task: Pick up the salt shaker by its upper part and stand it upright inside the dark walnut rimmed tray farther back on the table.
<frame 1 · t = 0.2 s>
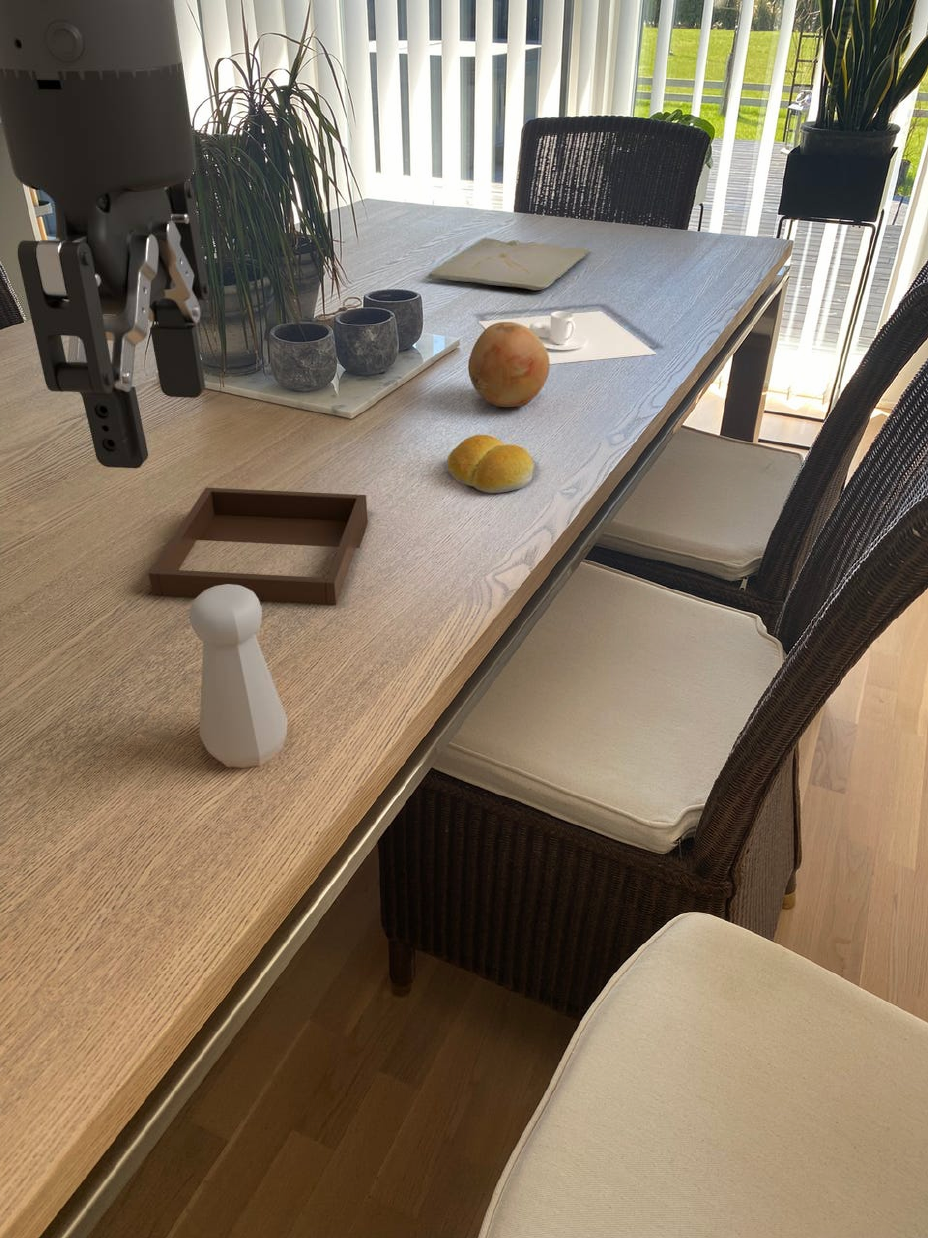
hand: (156, 427, 48), 26 cm above the table, tool pointing down, fingers open, 8 cm apart
bread roll: (490, 478, 100), on the table
decorative slab: (511, 271, 167), on the table
salt shaker: (249, 755, 65), on the table
teacup and saucer: (564, 338, 137), on the table
tray: (268, 561, 86), on the table
onion: (507, 405, 117), on the table
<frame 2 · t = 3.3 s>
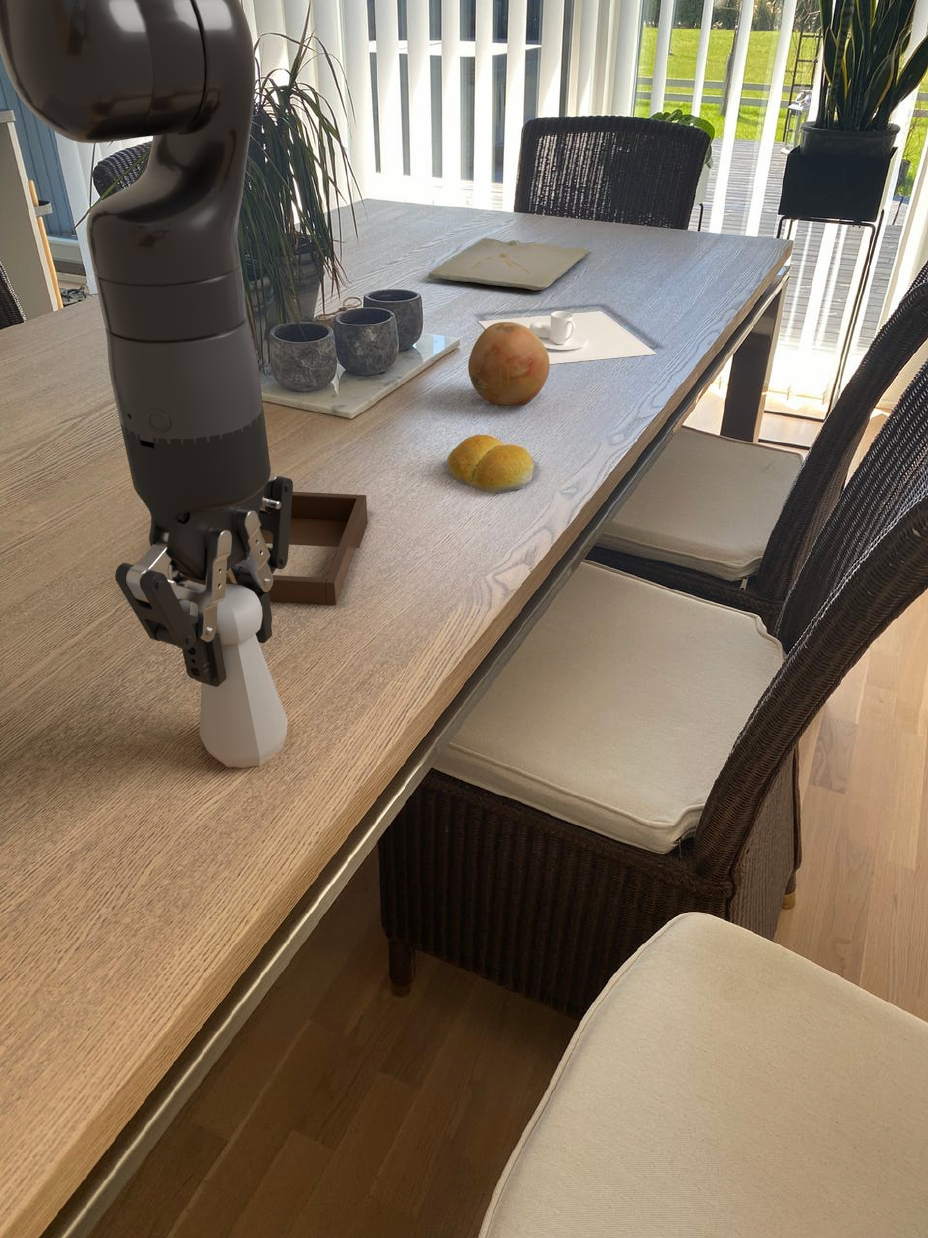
hand: (233, 657, 60), 8 cm above the table, tool pointing down, fingers closed on salt shaker, 4 cm apart
salt shaker: (249, 756, 65), on the table, touching gripper
everything else where it was.
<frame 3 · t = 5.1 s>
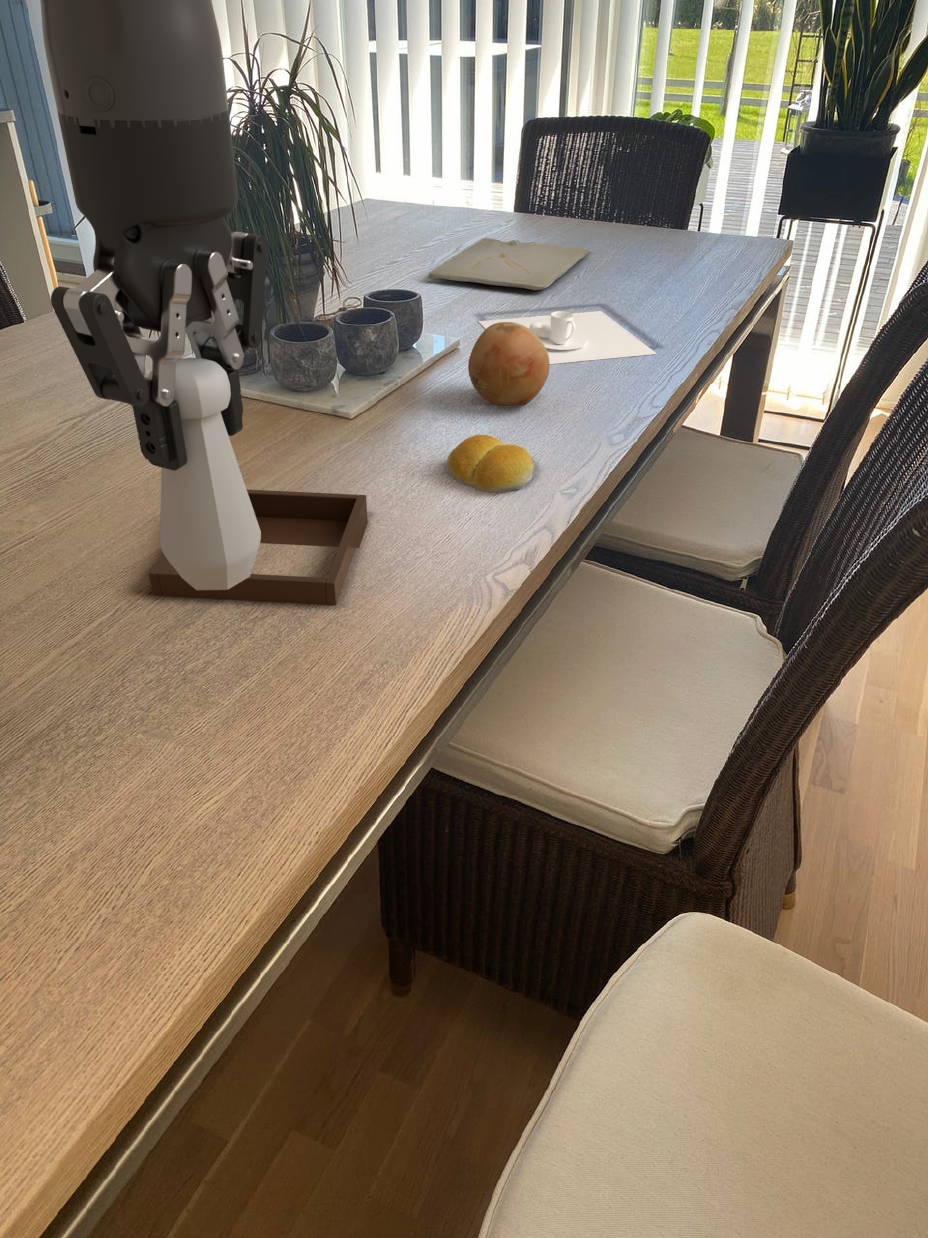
hand: (196, 446, 53), 23 cm above the table, tool pointing down, fingers closed on salt shaker, 4 cm apart
salt shaker: (216, 575, 58), point 14 cm above the table, touching gripper
everything else where it was.
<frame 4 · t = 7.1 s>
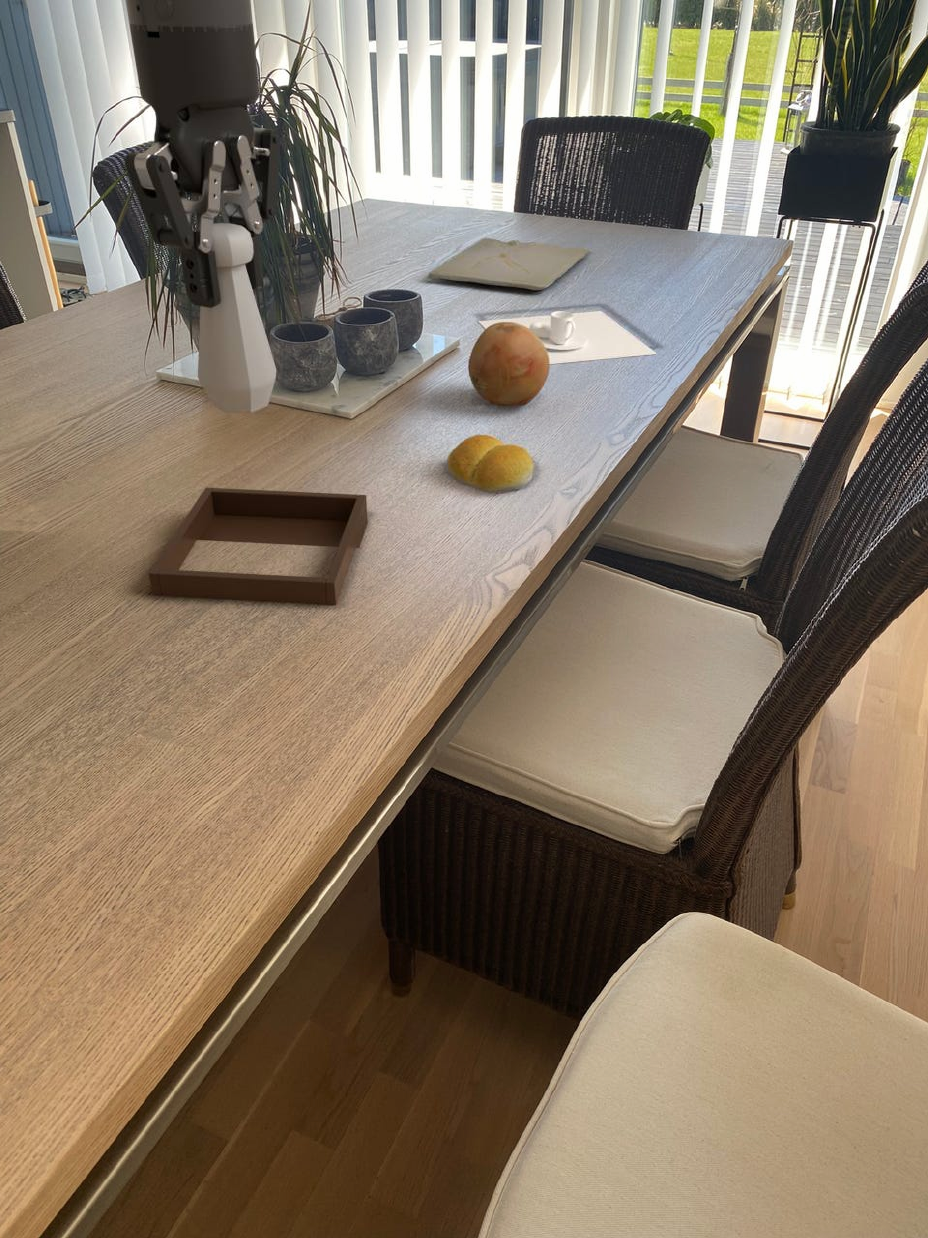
hand: (227, 294, 69), 25 cm above the table, tool pointing down, fingers closed on salt shaker, 4 cm apart
salt shaker: (241, 405, 74), point 16 cm above the table, touching gripper
everything else where it was.
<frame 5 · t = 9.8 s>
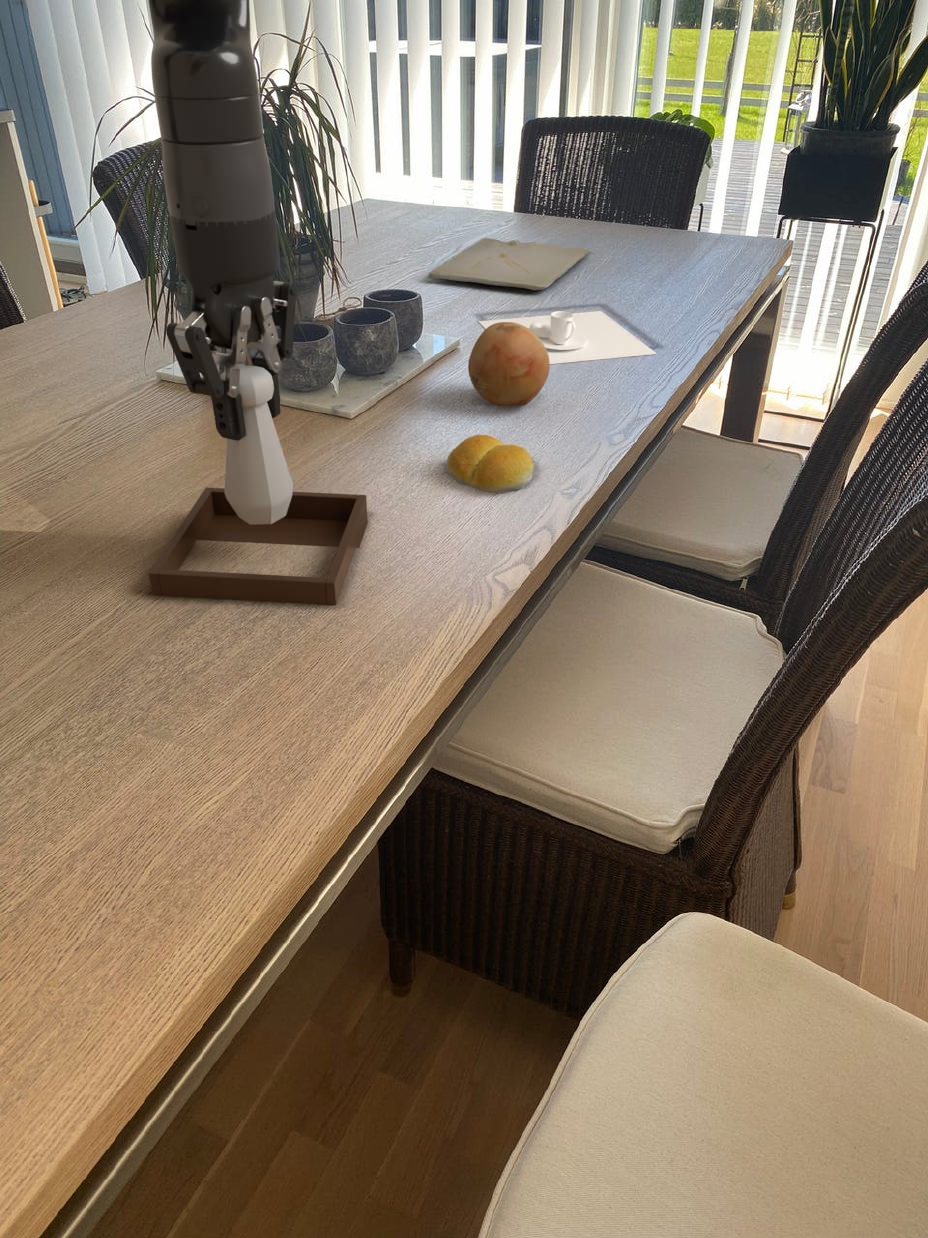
hand: (250, 425, 78), 13 cm above the table, tool pointing down, fingers closed on salt shaker, 4 cm apart
salt shaker: (262, 515, 83), point 5 cm above the table, touching gripper
everything else where it was.
when the fingers open (9 cm above the table, at t = 11.3 s): salt shaker stays where it is, resting on tray.
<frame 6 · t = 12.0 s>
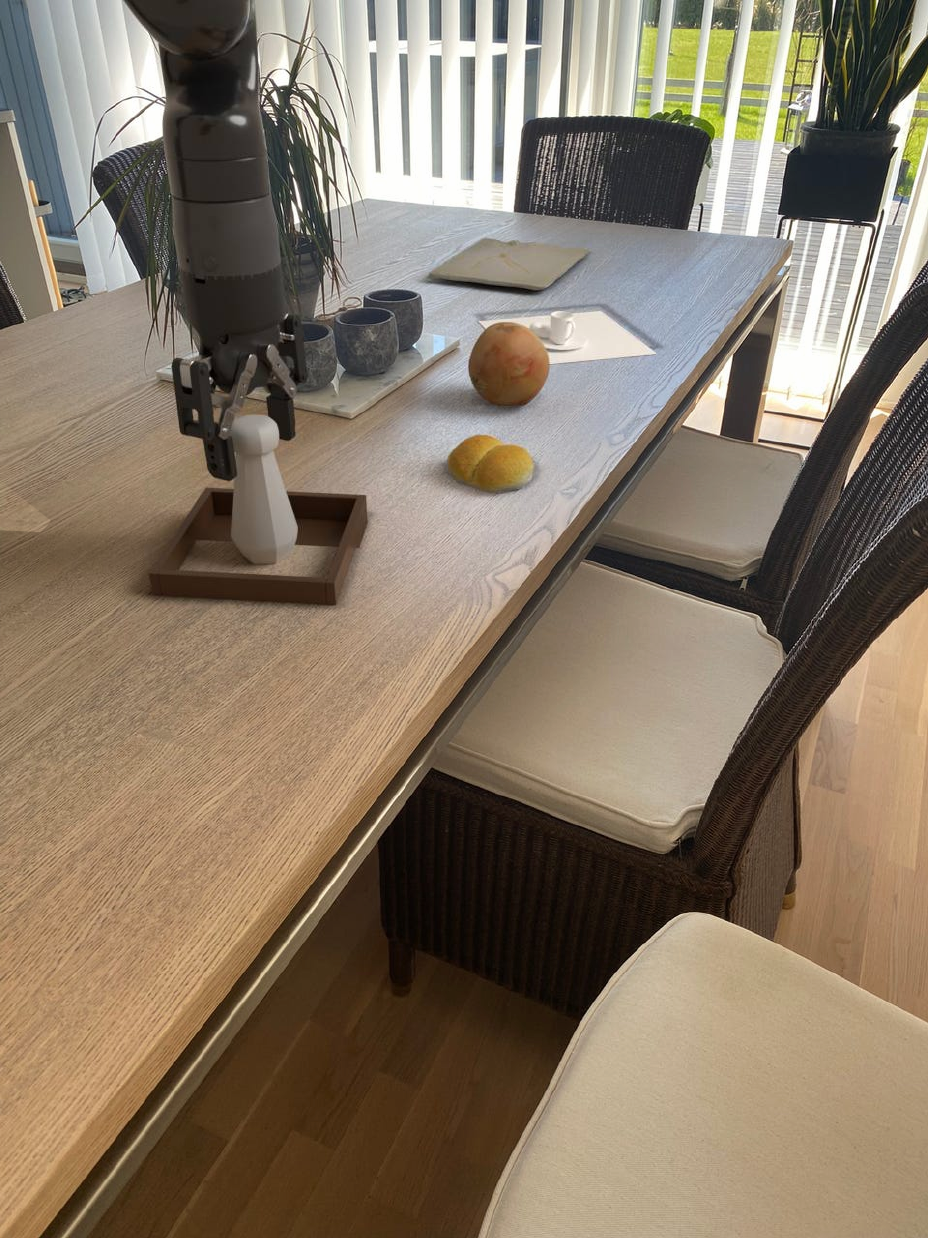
hand: (254, 457, 80), 10 cm above the table, tool pointing down, fingers open, 8 cm apart
salt shaker: (268, 556, 86), resting on tray
everything else where it was.
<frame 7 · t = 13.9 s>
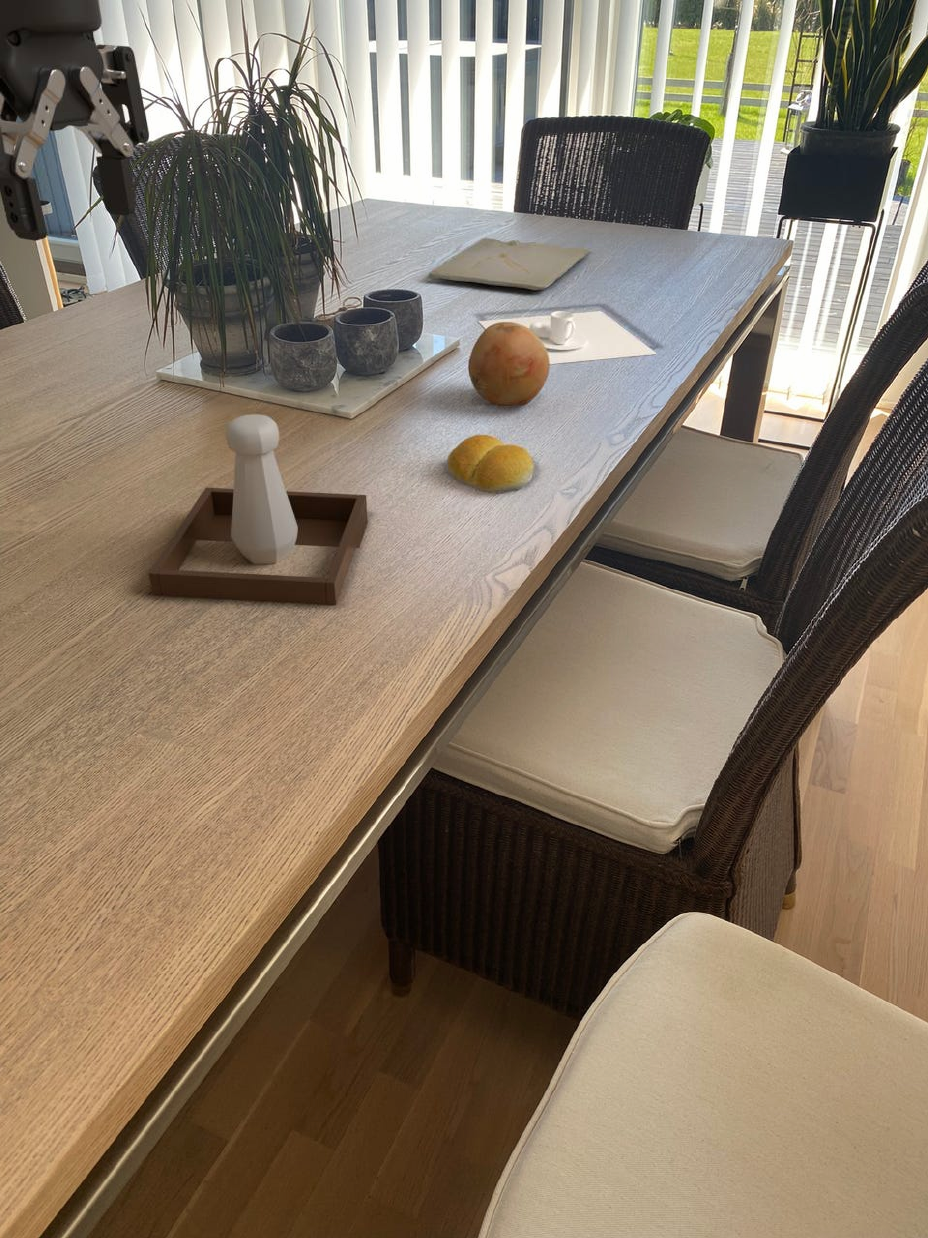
hand: (78, 225, 65), 30 cm above the table, tool pointing down, fingers open, 8 cm apart
nothing on the table moved.
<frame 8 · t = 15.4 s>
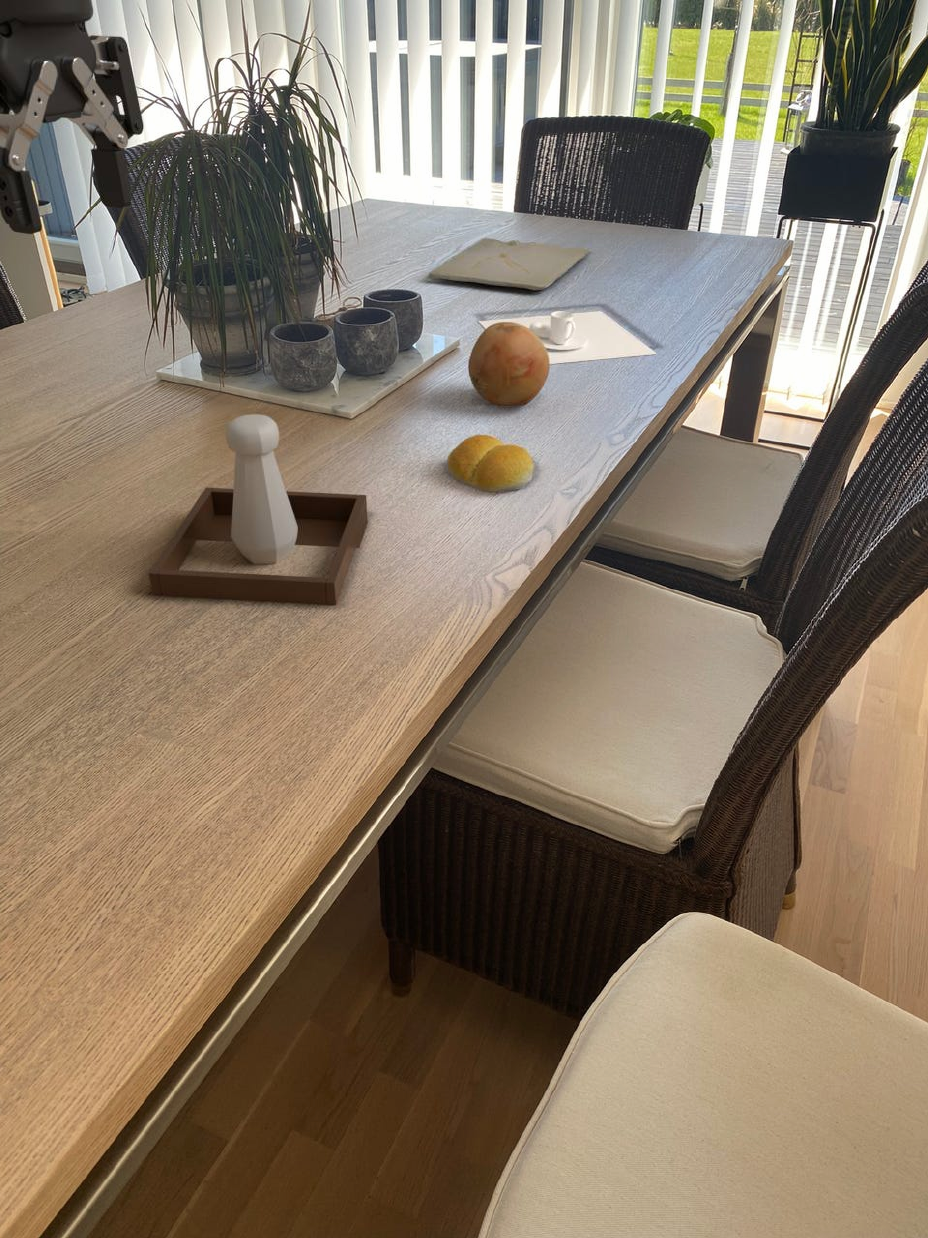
hand: (73, 218, 65), 30 cm above the table, tool pointing down, fingers open, 8 cm apart
nothing on the table moved.
at the end: salt shaker inside the target area in the tray (0.0 cm from its centre), point 0.4 cm above the tray's base; salt shaker tilted 0°; the gripper is holding nothing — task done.
